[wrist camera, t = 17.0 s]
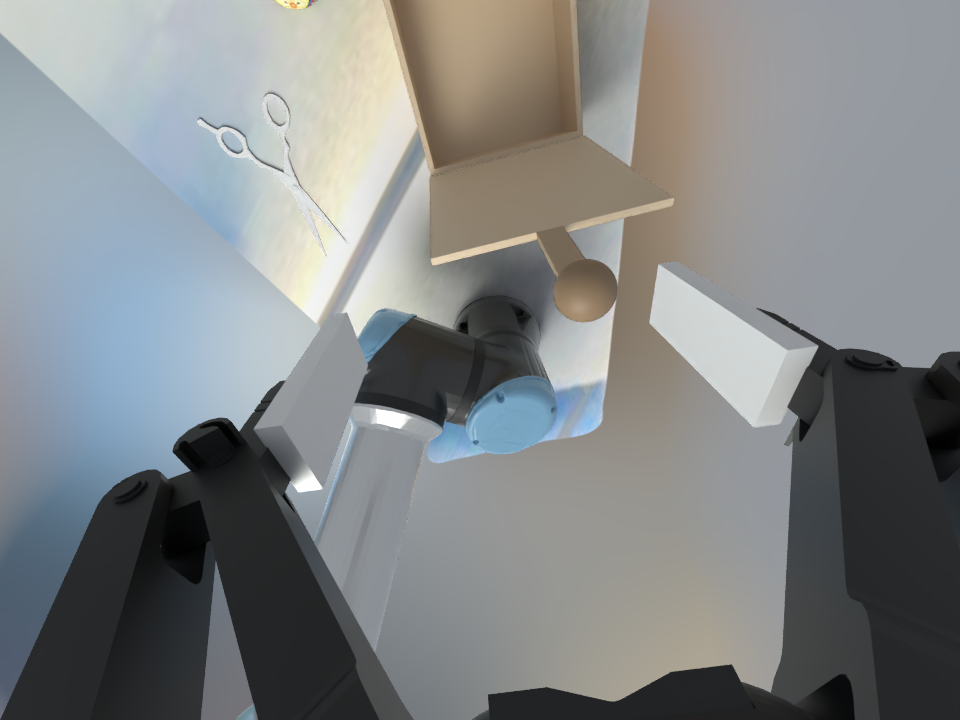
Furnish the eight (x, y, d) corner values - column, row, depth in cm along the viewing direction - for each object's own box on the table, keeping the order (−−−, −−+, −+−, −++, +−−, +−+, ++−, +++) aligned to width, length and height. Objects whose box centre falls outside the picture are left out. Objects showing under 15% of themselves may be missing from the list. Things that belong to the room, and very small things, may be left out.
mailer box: (566, 135, 45) (582, 135, 39) (433, 171, 46) (431, 176, 40) (548, -100, 34) (568, -148, 28) (376, -45, 35) (361, -80, 30)
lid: (584, 120, 38) (584, 155, 41) (425, 163, 39) (434, 195, 42) (782, 237, 17) (756, 296, 19) (422, 322, 18) (442, 368, 21)
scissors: (266, 74, 40) (367, 236, 50) (269, 75, 40) (368, 234, 51) (196, 120, 42) (308, 267, 52) (200, 121, 42) (310, 266, 52)
